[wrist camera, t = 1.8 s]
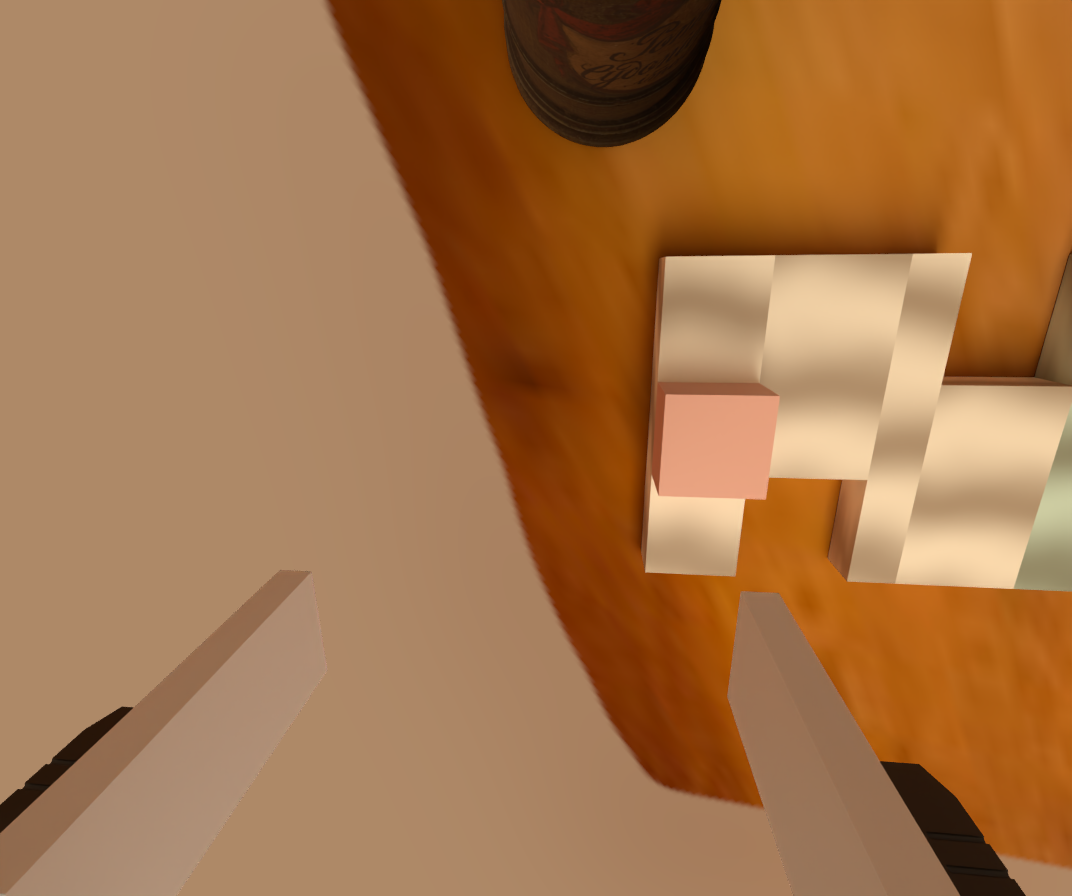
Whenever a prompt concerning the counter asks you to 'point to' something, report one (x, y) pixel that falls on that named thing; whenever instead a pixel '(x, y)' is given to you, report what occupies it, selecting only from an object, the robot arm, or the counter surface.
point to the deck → (873, 418)
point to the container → (607, 62)
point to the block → (713, 439)
